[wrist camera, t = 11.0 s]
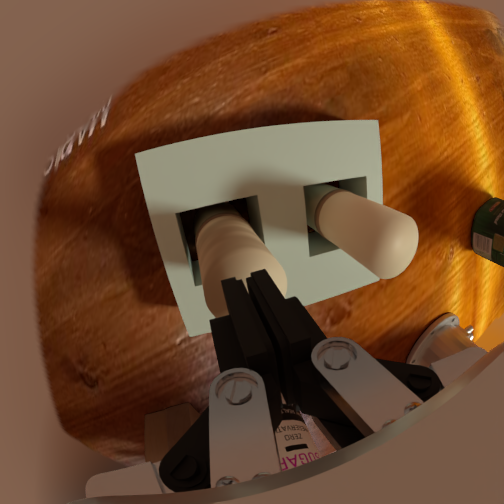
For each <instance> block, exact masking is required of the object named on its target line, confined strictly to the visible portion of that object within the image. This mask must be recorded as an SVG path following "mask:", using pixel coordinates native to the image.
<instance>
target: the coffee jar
mask: <svg viewBox="0 0 504 504" xmlns="http://www.w3.org/2000/svg"><path fill="white" fill-rule="evenodd" d="M471 243H472V248H473V251H474V252H475V253H476V254H478V255H480V256H482V257H484V258H486V259H488V260H490V261H492V262H494V263H496V264H498V265H500V266H502V267H504V200H502V199H499V198H496V197H495V198H492V199H490V200H489V201H487V202H486V203H485V204H483V205H482V207H481V208H480V209H479V210H478V211H477V213H476V214H475V218H474V222H473V226H472V231H471Z"/></svg>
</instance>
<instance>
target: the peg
mask: <svg viewBox="0 0 504 504" xmlns="http://www.w3.org/2000/svg"><path fill="white" fill-rule="evenodd" d="M194 233H195V246H196V252H197V255H198V260H199V267H200V273H201V279H202V286H203V292H204V297H205V302H206V305H207V307H208V309H209V311H210V312H211V313H212V314H213V315H214V316H215V317H216V318H218V317H222V316H226V315H229V313H228V309H227V305H226V301H225V297H224V293H223V289H222V285H221V280H224V279H228V278H232V277H235V278H236V280H240V279H242V281H243V283H244V285H245V287H246V289H247V291H248V288H247V283H246V278H247V277H251V276H250V273H251V272H255V271H259V270H262V269H266V271H267V272H268V274H269V275H270V277H271V278H272V280H273V281H274V283H275V284H276V286H277V287H278V289H279V290H280V292H281V293H282V295H283V296H284V298H285V295H286V291H287V277H286V274H285V271H284V269H283V267H282V266H281V265H280V264H279V262H278V261H277V260H276V258H275V257H274V256H273V255H272V253H271V252H270V251H269V250H268V248H267V247H266V246H265V245H264V243H263V242H262V241H261V240H260V238H259V237H258V236H257V234H256V233H255V232H254V230H253V229H252V227H251V226H250V224H249V223H248V222H247V221H246V220H245V219H244V218H243V217H242V216H241V214H240V213H239V212H238V211H237V209H236V208H235V207H234V206H233V205H231V204H229V203H227V202H221V203H217V204H213V205H208V206H204V207H201V208H200V209H199V210H198V212H197V214H196V216H195V218H194ZM248 294H249V293H248Z"/></svg>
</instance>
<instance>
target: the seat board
mask: <svg viewBox="0 0 504 504" xmlns="http://www.w3.org/2000/svg"><path fill="white" fill-rule="evenodd" d="M135 157H136V162H137V166H138V171H139V175H140V180H141V184H142V188H143V192H144V196H145V200H146V204H147V208H148V211H149V215H150V219H151V222H152V226H153V230H154V233H155V237H156V240H157V243H158V247H159V250H160V253H161V257H162V260H163V263H164V266H165V269H166V272H167V275H168V278H169V281H170V284H171V287H172V290H173V293H174V296H175V299H176V302H177V304H178V307H179V310H180V313H181V315H182V318H183V321H184V323H185V326H186V329H187V331H188V334H189V336H190V337H192V336H197V335H201V334H205V333H209V332H211V327H210V322H209V320H210V319H214V318H216V317H215V316H214V315H213V314H212V313H211V312H210V311H209V309H208V307H207V305H206V302H205V297H204V292H203V286H202V279H201V273H200V267H199V260H196V261H192V259H191V255H190V251H189V248H188V244H187V240H186V236H185V232H184V228H183V224H182V220H181V216H180V212H183V211H187V210H191V209H196V208H200V207H204V206H208V205H213V204H217V203H221V202H226V201H230V200H235V199H240V198H244V197H246V203H247V209H248V215H249V221H250V226H251V227H252V229H253V230H254V232H255V233H256V234H257V236H258V237H259V238H260V240H261V241H262V242H263V243H264V245H265V246H266V247H267V248H268V250H269V251H270V252H271V253H272V255H273V256H274V257H275V258H276V260H277V261H278V262H279V264H280V265H281V266H282V267H283V269H284V271H285V274H286V277H287V291H286V295H285V299H287V298H290V297H294V296H295V297H297V298H298V299H299V301H300V302H301V303H302V305H303V306H306V305H309V304H312V303H315V302H318V301H321V300H324V299H327V298H330V297H333V296H336V295H339V294H342V293H345V292H348V291H351V290H354V289H357V288H359V287H362V286H365V285H368V284H370V283H373V282H376V281H379V278H382V279H390V278H393V277H395V276H397V275H399V274H400V273H401V272H403V271H404V270H405V269H406V267H407V266H408V265H409V264H410V262H411V261H412V259H413V257H414V255H415V252H416V249H417V245H418V228H417V225H416V223H415V221H414V220H413V219H412V218H411V217H410V216H408V215H406V214H403V213H401V212H399V211H396V210H394V209H392V208H389V207H387V206H384V205H383V190H382V163H381V148H380V136H379V126H378V120H342V121H320V122H306V123H294V124H284V125H275V126H267V127H259V128H252V129H245V130H239V131H232V132H227V133H221V134H216V135H210V136H205V137H200V138H196V139H191V140H186V141H182V142H178V143H174V144H169V145H165V146H161V147H158V148H154V149H150V150H146V151H143V152H139V153H136V154H135ZM337 180H339V188H336V187H333V186H331V185H328V184H325V183H324V182H330V181H337ZM307 225H308V226H310V227H311V228H312V229H314V230H315V231H316V232H311V233H308V231H307Z"/></svg>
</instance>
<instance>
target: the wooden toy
mask: <svg viewBox="0 0 504 504" xmlns="http://www.w3.org/2000/svg"><path fill="white" fill-rule="evenodd" d="M199 417H200V414H199V413H198V412H197V411H196V410H195V409H194V408H193V407H192V406H191V405H190V404H189V403H184V404H180V405H177V406H173V407H169V408H166V410H163V411H159V412H155V413H151V414H146V415H145V430H144V437H145V460H146V462H149V461H151V462H152V463H156V462H159V461H161V460H162V459H163V457H164V456H165V455H166V454H167V452H168V451H169V450H170V449H171V448H172V447H173V446H174V445H175V444H176V443H177V442H178V440H179V439H180V438H181V437H182V436H183V435H184V434H185V433H186V432H187V430H188V429H189V428H190V427H191V426H192V425H193V424H194V422H195V421H196V420H197V419H198V418H199Z"/></svg>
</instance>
